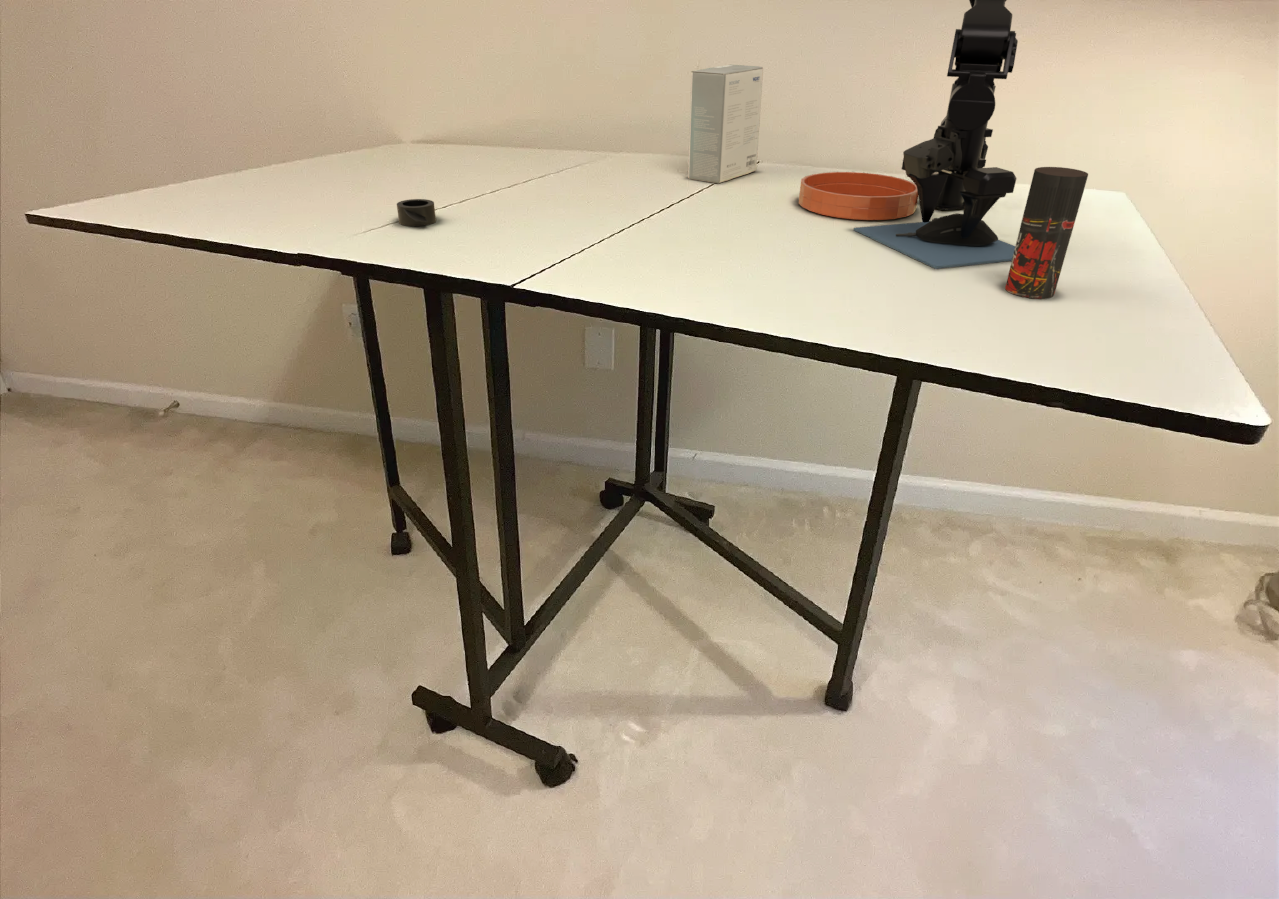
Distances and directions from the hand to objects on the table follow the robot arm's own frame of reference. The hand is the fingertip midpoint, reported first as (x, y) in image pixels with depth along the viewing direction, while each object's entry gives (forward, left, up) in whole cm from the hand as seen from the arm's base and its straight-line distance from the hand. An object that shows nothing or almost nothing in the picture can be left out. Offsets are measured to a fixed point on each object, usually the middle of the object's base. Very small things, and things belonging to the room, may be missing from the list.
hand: (944, 229), depth 123 cm
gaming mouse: (-1, 0, -2) cm, 2 cm away
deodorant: (+3, +22, -2) cm, 22 cm away
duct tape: (+75, -35, -2) cm, 83 cm away
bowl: (0, -24, -2) cm, 24 cm away
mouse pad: (0, 0, -2) cm, 2 cm away
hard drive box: (+12, -55, -2) cm, 56 cm away
